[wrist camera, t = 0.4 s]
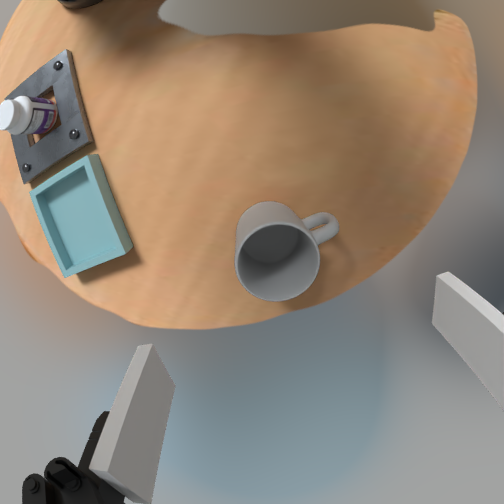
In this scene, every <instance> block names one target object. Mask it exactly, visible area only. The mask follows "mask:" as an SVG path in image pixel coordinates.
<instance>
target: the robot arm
mask: <svg viewBox="0 0 504 504" xmlns="http://www.w3.org/2000/svg"><path fill="white" fill-rule="evenodd" d="M58 1H59V2H60V3H61V4H63V5H64V6H66V7H68V8H84V7H87V6H91V5H93V4H96V3H98V2H100V1H102V0H58ZM432 324H433V325H434V326H435V327H436V329H437V330H438V331H439V332H440V333H441V334H442V335H443V337H444V338H445V339H446V340H447V341H448V342H449V343H450V344H451V346H452V347H453V348H454V349H455V350H456V351H457V353H458V354H459V355H460V356H461V357H462V359H463V360H464V361H465V362H466V363H467V365H468V366H469V367H470V368H471V370H472V371H473V372H474V373H475V374H476V375H477V377H478V378H479V379H480V381H481V382H482V383H483V385H484V386H485V387H486V388H487V389H488V391H489V392H490V394H491V395H492V396H493V398H494V399H495V400H496V402H497V403H498V404H499V405H500V407H501V408H502V410H503V411H504V312H503V313H501V312H499V311H498V310H497V309H496V308H495V307H493V306H492V305H491V304H490V303H489V302H487V301H486V300H485V299H484V298H482V297H481V296H480V295H479V294H477V293H476V292H475V291H473V290H472V289H471V288H470V287H468V286H467V285H466V284H465V283H463V282H462V281H461V280H459V279H458V278H457V277H455V276H454V275H453V274H451V273H450V272H445V273H442V274H440V275H437V276H436V288H435V301H434V309H433V318H432ZM174 390H175V384H174V382H173V380H172V379H171V377H170V375H169V374H168V372H167V370H166V368H165V366H164V364H163V362H162V361H161V359H160V357H159V355H158V353H157V351H156V349H155V347H154V345H153V344H147V345H139V346H138V347H137V350H136V352H135V354H134V356H133V358H132V360H131V363H130V365H129V367H128V370H127V372H126V374H125V377H124V379H123V381H122V383H121V386H120V388H119V391H118V393H117V395H116V398H115V400H114V403H113V405H112V408H111V410H110V411H104V412H103V413H102V414H101V415H100V416H99V418H98V419H97V420H96V422H95V425H94V427H93V429H92V433H91V434H90V437H89V440H88V442H87V444H86V447H85V449H84V452H83V455H82V457H81V460H80V462H79V465H78V467H76V466H75V465H74V464H73V463H71V462H70V461H69V460H68V459H66V458H64V457H58V458H54V459H53V460H52V461H50V462H49V463H48V465H47V466H46V468H45V471H44V478H43V477H42V476H41V475H39V474H31V475H29V476H28V477H27V478H26V479H25V481H24V482H23V487H22V488H23V489H22V502H23V503H22V504H125V503H124V498H125V497H127V498H128V499H130V500H131V501H133V502H136V503H143V504H151V502H152V497H153V491H154V486H155V479H156V475H157V470H158V464H159V459H160V454H161V449H162V444H163V440H164V435H165V430H166V426H167V421H168V417H169V412H170V407H171V403H172V399H173V394H174ZM47 480H48V481H47Z"/></svg>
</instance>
